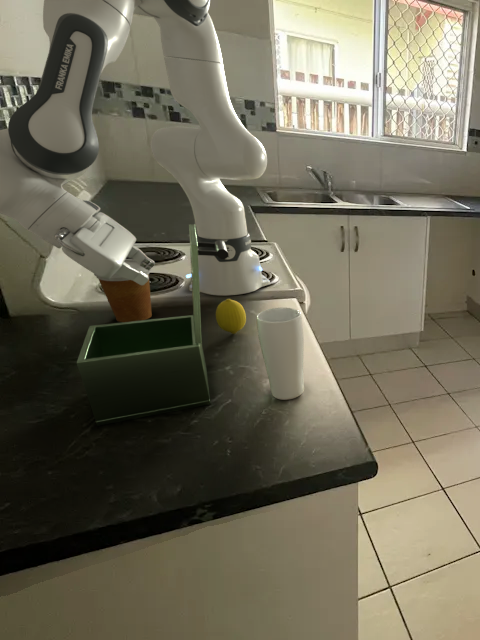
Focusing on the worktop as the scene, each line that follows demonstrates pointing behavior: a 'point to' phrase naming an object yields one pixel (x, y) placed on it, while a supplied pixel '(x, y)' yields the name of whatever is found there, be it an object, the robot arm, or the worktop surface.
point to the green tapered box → (143, 369)
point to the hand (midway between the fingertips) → (149, 273)
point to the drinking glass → (282, 350)
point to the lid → (194, 252)
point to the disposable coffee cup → (128, 295)
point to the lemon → (230, 316)
